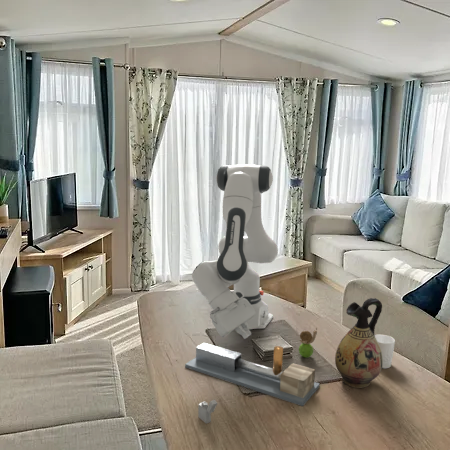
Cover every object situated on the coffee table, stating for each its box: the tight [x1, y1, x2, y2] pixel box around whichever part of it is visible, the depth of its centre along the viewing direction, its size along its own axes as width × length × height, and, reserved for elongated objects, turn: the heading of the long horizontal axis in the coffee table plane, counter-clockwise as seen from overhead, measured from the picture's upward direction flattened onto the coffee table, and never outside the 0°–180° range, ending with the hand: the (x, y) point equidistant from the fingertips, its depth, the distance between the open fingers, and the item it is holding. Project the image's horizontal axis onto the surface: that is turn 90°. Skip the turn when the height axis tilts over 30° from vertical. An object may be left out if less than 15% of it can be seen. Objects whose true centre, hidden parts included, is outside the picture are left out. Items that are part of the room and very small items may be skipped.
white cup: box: [374, 333, 396, 369], centre depth 180 cm, size 8×8×10 cm
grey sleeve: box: [195, 342, 243, 372], centre depth 176 cm, size 5×16×5 cm, turn 58°
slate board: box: [184, 356, 320, 407], centre depth 170 cm, size 14×45×1 cm, turn 58°
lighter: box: [197, 399, 218, 424], centre depth 143 cm, size 7×2×8 cm, turn 38°
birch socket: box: [280, 362, 316, 398], centre depth 160 cm, size 9×8×6 cm
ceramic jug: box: [334, 297, 383, 389], centre depth 166 cm, size 17×15×30 cm
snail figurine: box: [298, 327, 318, 359], centre depth 185 cm, size 5×6×12 cm
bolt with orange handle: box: [235, 345, 284, 381], centre depth 166 cm, size 3×24×11 cm, turn 58°
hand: (248, 336), depth 169 cm, fingers closed
